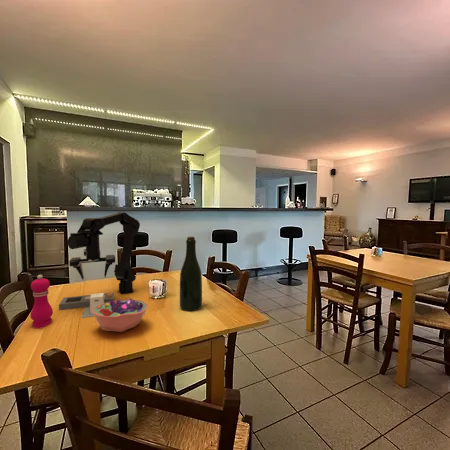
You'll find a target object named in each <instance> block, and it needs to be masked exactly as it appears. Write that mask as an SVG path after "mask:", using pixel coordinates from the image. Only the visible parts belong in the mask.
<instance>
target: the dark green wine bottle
mask: <svg viewBox="0 0 450 450" xmlns="http://www.w3.org/2000/svg"><path fill="white" fill-rule="evenodd" d="M196 243H197V240H196V238H195V236H187V239H186V241H185V244H186V246H185V247H186V249H185V258H184V261H183V264H182V266H181V268H180V273H179V274H180V275H179V309H181V310H182V311H187V312H192V311H193V312H195V311H198V310H199V309H201V308H202V307H203V277H202V269H201V266H200V263H199V261H198V258H197V252H196V249H197V248H196V247H197V246H196Z"/></svg>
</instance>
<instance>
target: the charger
mask: <svg viewBox="0 0 450 450" xmlns="http://www.w3.org/2000/svg"><path fill="white" fill-rule="evenodd" d="M104 293H105V292H98V293H91V294H90V295H91V296H90V314H93V312H92V310H93V309H94V308H96V307H97V306H99V305H101V304H104Z"/></svg>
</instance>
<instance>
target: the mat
mask: <svg viewBox="0 0 450 450" xmlns="http://www.w3.org/2000/svg"><path fill="white" fill-rule="evenodd" d="M93 317H94V318H95V316H94V314H90V307H84V310H83V313H82V315H81V319H85V318H93Z"/></svg>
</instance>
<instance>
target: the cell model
mask: <svg viewBox="0 0 450 450" xmlns="http://www.w3.org/2000/svg"><path fill="white" fill-rule="evenodd" d="M147 308H148V303H146V302H145V301H144V300H141V299H134V298H125V299H118V298H117V299H116V300H114V301H110V302H108V303H104V304H101V305H99V306H97V307H96V308H94V309H93V310H92V312H93V314H94V318H95V320H96V322H97V324H98V325H99V327H100V328H101V329H102V330H103V331H107V332H108V331H109V332H118V333H122V332H123V333H124V332H125V331H127V330H130V329H133V328H135V327H136V326H137V325H138V324H140V323H141V321H142V319H143V318H144V317H145V314H146V312H147Z"/></svg>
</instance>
